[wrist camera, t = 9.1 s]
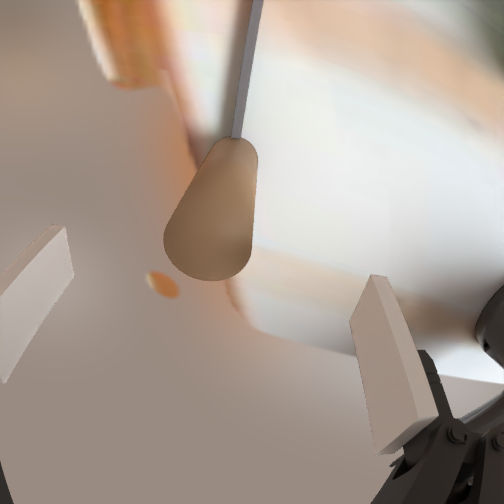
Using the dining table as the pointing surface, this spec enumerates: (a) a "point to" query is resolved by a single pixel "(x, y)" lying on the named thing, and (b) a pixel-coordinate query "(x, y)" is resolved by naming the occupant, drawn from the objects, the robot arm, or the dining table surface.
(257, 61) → the dining table surface
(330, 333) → the dining table surface
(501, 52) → the dining table surface
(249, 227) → the tethered block
